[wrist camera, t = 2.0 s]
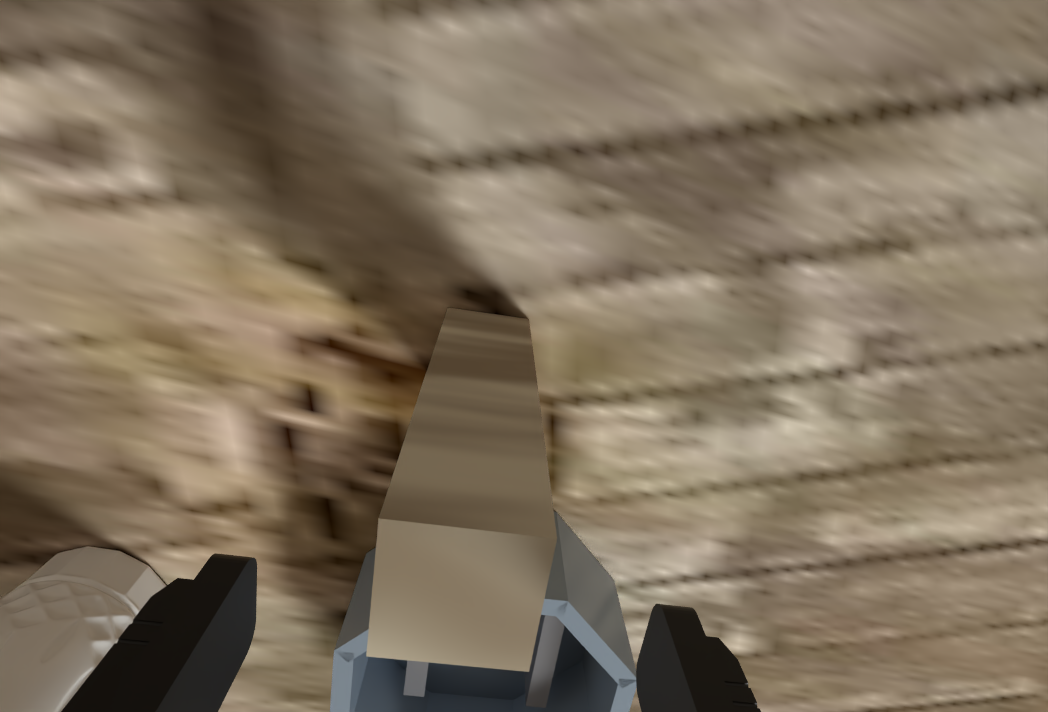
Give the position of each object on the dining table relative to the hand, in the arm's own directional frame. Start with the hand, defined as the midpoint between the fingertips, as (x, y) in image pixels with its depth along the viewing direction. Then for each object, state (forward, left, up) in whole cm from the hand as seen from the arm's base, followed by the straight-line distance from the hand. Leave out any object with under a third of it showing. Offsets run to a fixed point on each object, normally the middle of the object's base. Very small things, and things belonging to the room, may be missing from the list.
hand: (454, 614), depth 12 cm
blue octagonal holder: (+14, +2, -15) cm, 21 cm away
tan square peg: (0, 0, -15) cm, 15 cm away
